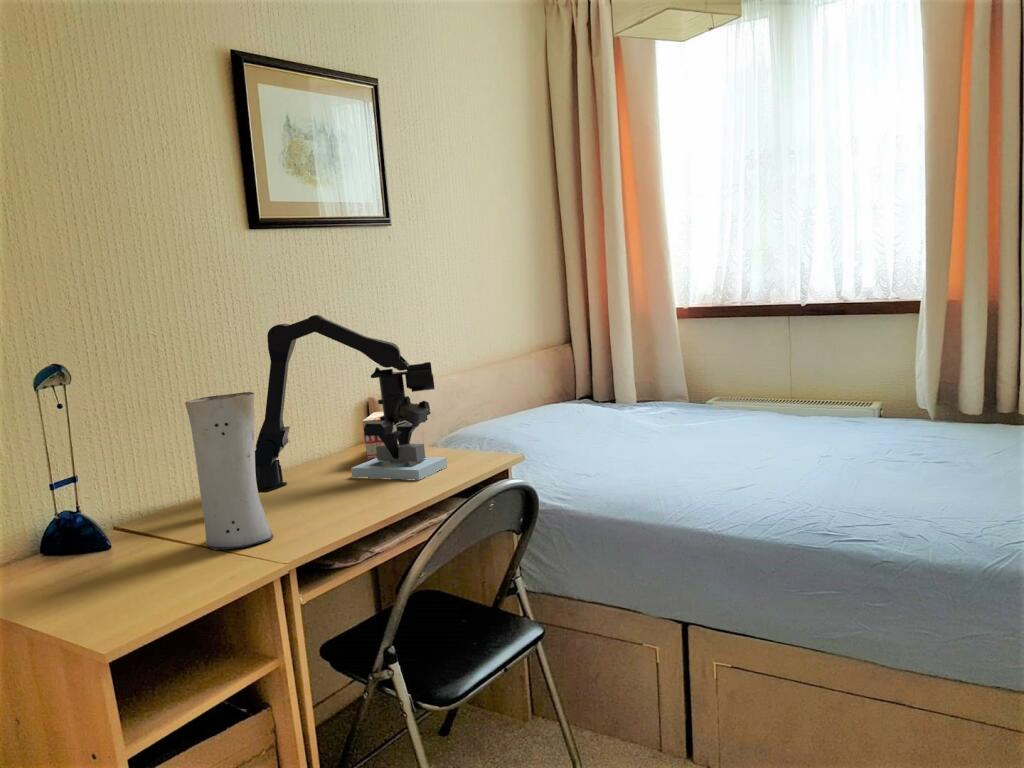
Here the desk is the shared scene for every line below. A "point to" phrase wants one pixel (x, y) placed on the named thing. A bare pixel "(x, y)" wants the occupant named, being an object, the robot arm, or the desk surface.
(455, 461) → the desk surface
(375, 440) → the stack of blocks
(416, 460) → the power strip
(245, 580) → the desk surface
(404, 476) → the keyhole board
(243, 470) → the vase
